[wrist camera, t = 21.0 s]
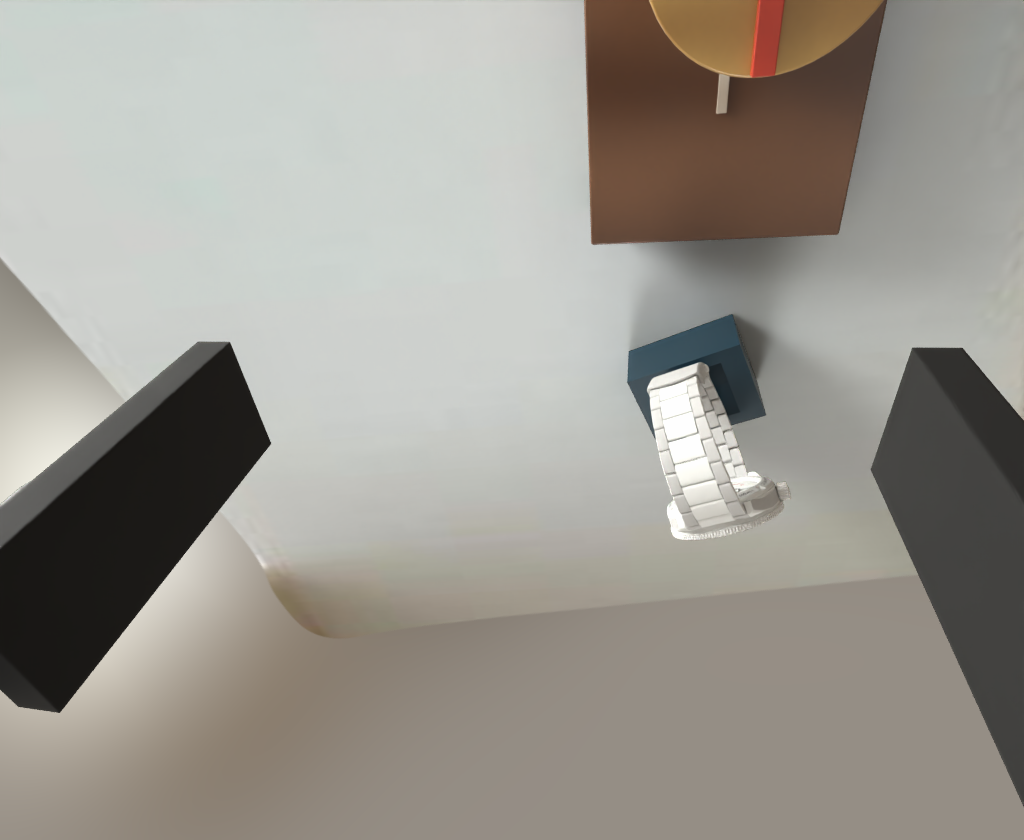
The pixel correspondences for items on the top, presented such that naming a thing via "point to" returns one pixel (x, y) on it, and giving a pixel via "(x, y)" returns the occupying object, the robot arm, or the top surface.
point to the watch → (704, 429)
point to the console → (716, 136)
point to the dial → (759, 31)
